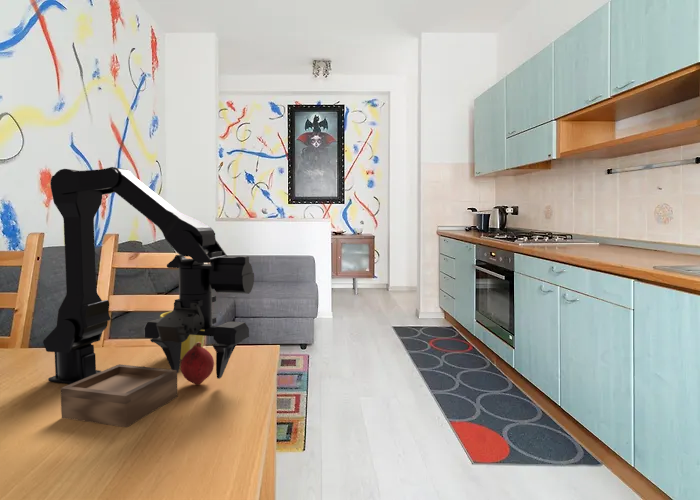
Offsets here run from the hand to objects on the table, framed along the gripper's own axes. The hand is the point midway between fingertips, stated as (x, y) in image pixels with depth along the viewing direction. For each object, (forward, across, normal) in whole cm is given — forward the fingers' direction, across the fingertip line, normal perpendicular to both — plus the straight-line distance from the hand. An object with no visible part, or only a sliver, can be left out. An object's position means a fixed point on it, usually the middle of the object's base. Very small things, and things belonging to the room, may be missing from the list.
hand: (197, 375), depth 84 cm
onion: (+2, 0, 0) cm, 2 cm away
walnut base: (+2, -6, -12) cm, 14 cm away
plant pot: (+2, -13, +15) cm, 20 cm away
